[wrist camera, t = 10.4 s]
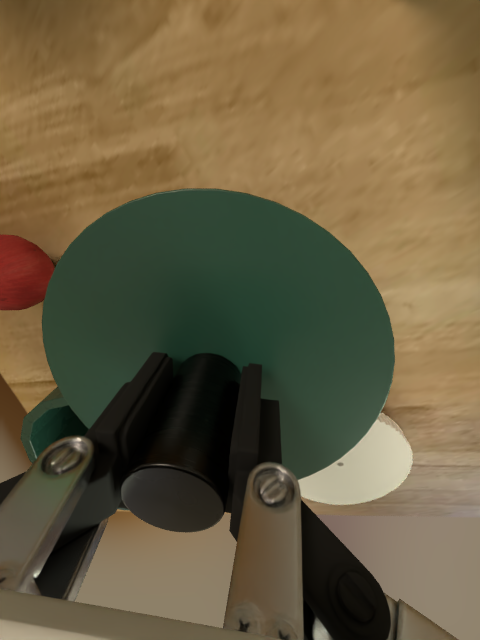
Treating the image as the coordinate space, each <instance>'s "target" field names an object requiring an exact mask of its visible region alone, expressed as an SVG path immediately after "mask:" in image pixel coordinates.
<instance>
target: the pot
mask: <svg viewBox="0 0 480 640" xmlns="http://www.w3.org/2000/svg"><path fill="white" fill-rule="evenodd" d="M88 430H89V428H88V427H86V426H85V425H84V424H83V422H82V421H81V420H80V419H79V417H78V416H77V415H76V414H75V413H74V411H73V410H72V409H71V407H70V406H69V404H68V403H67V401H66V400H65V398H64V397H63V395H62V393H61V391H60V389H59V388H58V387H57V388H56V389H54V390H53V391H52V392H51V393H50V394H49V395H48V396H47V397H46V398H45V399H44V400H42V401H41V402H40V403H39V404H38V405H37V406H36V407H35V408H34V409H33V410H32V411H31V412H29V413H28V414H27V415H26V416H25V417H24V420H23V426H22V432H21V441H22V443H23V446H24V448H25V450H26V453H27V455H28V458H29V460H30V461H31V462H32V464H33V462H34V461H35V460H36V459H37V457H38V456H39V455H40V454H41V453H42V452H43V451H44V450H45V449H46V448H47V447H48V446H50V445H51V444H52V443H54V442H56V441H58V440H60V439H62V438H66V437H69V436H78V435H80V436H85V434H86V433H87V432H88ZM117 509H121V510H129V509H124V508H117Z"/></svg>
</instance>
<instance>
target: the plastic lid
mask: <svg viewBox="0 0 480 640" xmlns="http://www.w3.org/2000/svg"><path fill="white" fill-rule="evenodd" d="M412 457H413V455H412V450H411V447H410V445H409V443H408V441H407V439H406V437H405V435H404V433H403V432H402V430H401V429H400V427H399V426H398V425H397V423H396V422H394V421H393V419H390V417H389V416H385V414H384V413H380V415H379V417H378V419H377V420H376V421H375V423H374V424H373V426H372V427H371V429H370V430H369V432H368V433H367V434H366V435H365V436H364V437H363V438H362V440H361V441H360V442H359V443H358V444H357V445H356V446H355V447H354V448H353V449H352V450H350V451H349V452H348V453H347V454H345V455H344V456H343V457H342V458H341V459H339V460H337V461H336V462H334V463H333V464H331V465H330V466H328V467H327V468H325V469H323V470H321V471H319V472H316V473H314V474H312V475H310V476H308V477H305V478H302V479H299V480H298V482H299V486H300V491H301V497H302V496H303V497H304V498H308V499H309V500H314V502H317V501H318V502H319V503H324V504H327V503H328V504H330V505H332V504H335V505H338V504H341V505H344V504H346V505H349V504H352V505H354V504H355V503H357V504H360V503H361V502H363V503H365V502H366V501H371V500H376V498H381V496H385V495H386V494H387V493H391V491H392V490H393V491H394V490H395V488H398V487H399V484H402V481H405V477H408V475H407V474H409V473H410V471H409V470H411V468H412V467H411V465H413V463H412V461H413V458H412Z"/></svg>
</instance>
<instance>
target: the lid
mask: <svg viewBox="0 0 480 640" xmlns="http://www.w3.org/2000/svg"><path fill="white" fill-rule="evenodd" d="M42 331H43V343H44V348H45V352H46V357H47V361H48V364H49V366H50V369H51V372H52V375H53V378H54V380H55V382H56V384H57V386H58V388H59V389H60V391H61V393H62V395H63V397H64V398H65V400H66V401H67V403H68V404H69V406H70V407H71V409H72V410H73V411H74V413H75V414H76V415H77V416H78V417H79V419H80V420H81V421H82V422H83V424H84V425H85V426H86V427H88V428H89V429H90V428H91V426H92V425H93V424H94V422H95V421H96V420H97V419H98V417H99V416H100V415H101V413H102V412H103V411H104V409H105V408H106V407H107V405H108V404H109V403H110V402H111V400H112V399H113V398H114V396H115V395H116V394H117V392H118V391H119V390H120V388H121V387H122V386H123V385H124V384H125V383H126V382H131V381H132V379H133V378H134V377H135V375H136V374H137V373H138V371H139V370H140V368H141V367H142V366H143V364H144V363H145V362H146V360H147V359H148V358H149V356H150V355H151V354H152V353H153V352H159V353H167V354H168V356H169V357H171V358H172V359H173V378H174V379H173V381H172V382H171V384H170V386H169V388H168V390H167V392H166V394H165V396H164V398H163V400H162V402H161V404H160V406H159V408H158V409H157V411H156V413H155V415H154V417H153V419H152V421H151V423H150V425H149V427H148V429H147V431H146V433H145V434H144V436H143V438H142V440H141V442H140V444H139V446H138V448H137V450H136V452H135V454H134V456H133V458H132V460H131V461H130V463H129V465H128V467H127V469H126V471H125V473H124V475H123V477H122V479H121V482H120V496H121V499H122V501H123V503H124V504H125V506H126V507H127V508H128V509H129V510H130V511H131V512H132V513H133V514H134V515H136V516H137V517H138V518H140V519H141V520H143V521H145V522H146V523H148V524H151V525H153V526H155V527H159V528H162V529H165V530H169V531H175V532H197V531H202V530H205V529H208V528H210V527H212V526H214V525H215V524H217V523H218V522H219V521H220V519H221V518H222V516H223V515H224V513H225V509H226V503H227V496H228V489H229V480H228V468H229V456H230V446H231V439H232V433H233V426H234V420H235V413H236V407H237V401H238V394H239V388H240V381H241V375H242V369H243V366H248V365H249V363H254V364H262V381H261V399H270V400H278V401H279V408H280V430H281V452H282V465H284V466H285V467H286V468H288V469H289V470H290V471H291V472H292V473H293V474H294V475H295V476H296V478H297V480H299V479H302V478H305V477H308V476H310V475H312V474H314V473H316V472H319V471H321V470H323V469H325V468H327V467H328V466H330V465H331V464H333V463H334V462H336V461H337V460H339V459H341V458H342V457H343V456H344V455H345V454H347V453H348V452H349V451H350V450H352V449H353V448H354V447H355V446H356V445H357V444H358V443H359V442H360V441H361V440H362V438H363V437H364V436H365V435H366V434H367V433H368V432H369V430H370V429H371V427H372V426H373V424H374V423H375V421H376V420H377V419H378V417H379V415H380V413H381V411H382V409H383V407H384V404H385V402H386V400H387V397H388V394H389V390H390V387H391V384H392V378H393V371H394V363H395V354H394V337H393V332H392V327H391V322H390V318H389V315H388V312H387V310H386V307H385V304H384V302H383V299H382V297H381V294H380V293H379V291H378V289H377V287H376V286H375V284H374V282H373V281H372V279H371V277H370V275H369V274H368V272H367V271H366V270H365V269H364V267H363V266H362V265H361V264H360V262H359V261H358V260H357V259H356V258H355V256H354V255H353V254H352V253H351V251H350V250H348V249H347V248H346V247H345V246H344V245H343V244H342V243H341V242H340V241H338V240H337V239H336V238H335V237H334V236H333V235H332V234H331V233H330V232H328V231H327V230H325V229H324V228H322V227H321V226H319V225H318V224H316V223H315V222H313V221H312V220H310V219H309V218H307V217H306V216H304V215H302V214H300V213H298V212H296V211H294V210H292V209H290V208H288V207H285V206H283V205H281V204H279V203H277V202H274V201H271V200H268V199H264V198H261V197H258V196H254V195H251V194H248V193H242V192H235V191H229V190H222V189H179V190H173V191H166V192H159V193H155V194H151V195H148V196H145V197H142V198H139V199H135V200H132V201H129V202H127V203H125V204H123V205H121V206H119V207H117V208H115V209H113V210H111V211H109V212H107V213H106V214H104V215H103V216H102V217H100V218H99V219H97V220H96V221H95V222H93V223H92V224H91V225H89V226H88V227H87V228H85V229H84V231H83V232H82V233H81V234H80V235H79V236H78V237H77V238H76V239H75V240H74V241H73V242H72V243H71V244H70V245H69V247H68V248H67V250H66V251H65V253H64V254H63V256H62V257H61V259H60V260H59V262H58V263H57V265H56V267H55V270H54V272H53V274H52V276H51V279H50V281H49V283H48V287H47V291H46V295H45V299H44V303H43V315H42Z"/></svg>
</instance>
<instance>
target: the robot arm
mask: <svg viewBox="0 0 480 640" xmlns="http://www.w3.org/2000/svg"><path fill="white" fill-rule="evenodd" d="M173 379H174V378H173V359H172V358H171V357H169V356H168V354H167V353H159V352H153V353H152V354H151V355H150V356H149V358H148V359H147V360H146V362H145V363H144V364H143V366H142V367H141V368H140V370H139V371H138V373H137V374H136V375H135V377H134V378H133V379H132V381H131V382H126V383H125V384H124V385H123V386H122V387H121V388H120V390H119V391H118V392H117V394H116V395H115V396H114V398H113V399H112V400H111V402H110V403H109V404H108V405H107V407H106V408H105V409H104V411H103V412H102V413H101V415H100V416H99V417H98V419H97V420H96V421H95V422H94V424H93V425H92V426H91V428H90V429H89V430H88V432H87V433H86V434H85V436H80V435H78V436H69V437H66V438H62V439H60V440H58V441H56V442H54V443H52V444H51V445H50V446H48V447H47V448H46V449H45V450H44V451H43V452H42V453H41V454H40V455H39V456H38V457H37V459H36V460H35V461H34V462H33V464H32V465H31V466H30V468H29V469H28V470H27V471H26V472H24V473H22V474H20V475H18V476H16V477H13V478H11V479H9V480H7V481H4V482H2V483H0V640H458V639H457V638H455V637H454V636H453V635H451V634H450V633H448V632H446V631H445V630H444V629H442V628H441V627H440V626H438V625H437V624H435V623H434V622H432V621H431V620H429V619H428V618H427V617H425V616H424V615H422V614H421V613H419V612H418V611H417V610H415V609H413V608H412V607H411V606H409V605H408V604H406V603H405V602H404V601H402V600H401V599H399V601H398V602H396V601H395V600H394V599H392V598H391V597H389V596H388V595H386V594H385V593H383V591H382V588H381V587H380V585H379V583H378V582H377V581H376V579H375V578H374V577H373V575H372V574H371V573H370V572H369V571H368V570H367V569H366V568H365V567H364V566H363V564H362V563H361V562H360V561H359V560H358V559H357V558H356V557H355V556H354V555H353V554H352V553H351V552H350V551H349V550H348V549H347V548H346V546H344V544H343V543H342V542H341V541H340V540H339V539H338V538H337V537H336V536H335V535H334V534H333V533H332V532H331V531H330V530H329V528H328V527H327V526H326V525H325V524H324V523H323V522H322V521H321V520H320V519H319V518H318V517H317V516H316V515H315V514H314V513H313V512H312V510H311V509H310V508H309V507H308V506H307V505H306V504H305V503H304V502H303V501H302V500H301V491H300V486H299V482H298V480H297V478H296V476H295V475H294V474H293V473H292V472H291V471H290V470H289V469H288V468H286V467H285V466H284V465H282V452H281V430H280V408H279V401H278V400H270V399H261V381H262V364H254V363H249V365H248V366H243V369H242V375H241V381H240V388H239V394H238V401H237V407H236V413H235V420H234V426H233V433H232V439H231V446H230V456H229V468H228V480H229V489H228V496H227V503H226V509H225V512H227V513H231V520H230V532H231V534H232V535H233V537H234V538H235V540H236V541H237V546H236V552H235V559H234V565H233V570H232V576H231V582H230V588H229V594H228V601H227V606H226V612H225V619H224V624H223V628H218V627H212V626H207V625H202V624H196V623H191V622H185V621H180V620H174V619H168V618H163V617H158V616H152V615H147V614H141V613H135V612H130V611H124V610H118V609H113V608H107V607H101V606H95V605H89V604H84V603H79V602H75V599H76V597H77V594H78V592H79V590H80V587H81V585H82V583H83V580H84V578H85V576H86V573H87V571H88V568H89V566H90V563H91V561H92V559H93V556H94V554H95V551H96V549H97V547H98V544H99V542H100V539H101V537H102V534H103V532H104V530H105V527H106V525H107V522H108V518H109V517H110V516H111V515H113V514H114V513H115V512H116V510H117V508H124V509H128V508H127V507H126V506H125V504H124V503H123V501H122V499H121V496H120V482H121V479H122V477H123V475H124V473H125V471H126V469H127V467H128V465H129V463H130V461H131V460H132V458H133V456H134V454H135V452H136V450H137V448H138V446H139V444H140V442H141V440H142V438H143V436H144V434H145V433H146V431H147V429H148V427H149V425H150V423H151V421H152V419H153V417H154V415H155V413H156V411H157V409H158V408H159V406H160V404H161V402H162V400H163V398H164V396H165V394H166V392H167V390H168V388H169V386H170V384H171V382H172V381H173Z"/></svg>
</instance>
